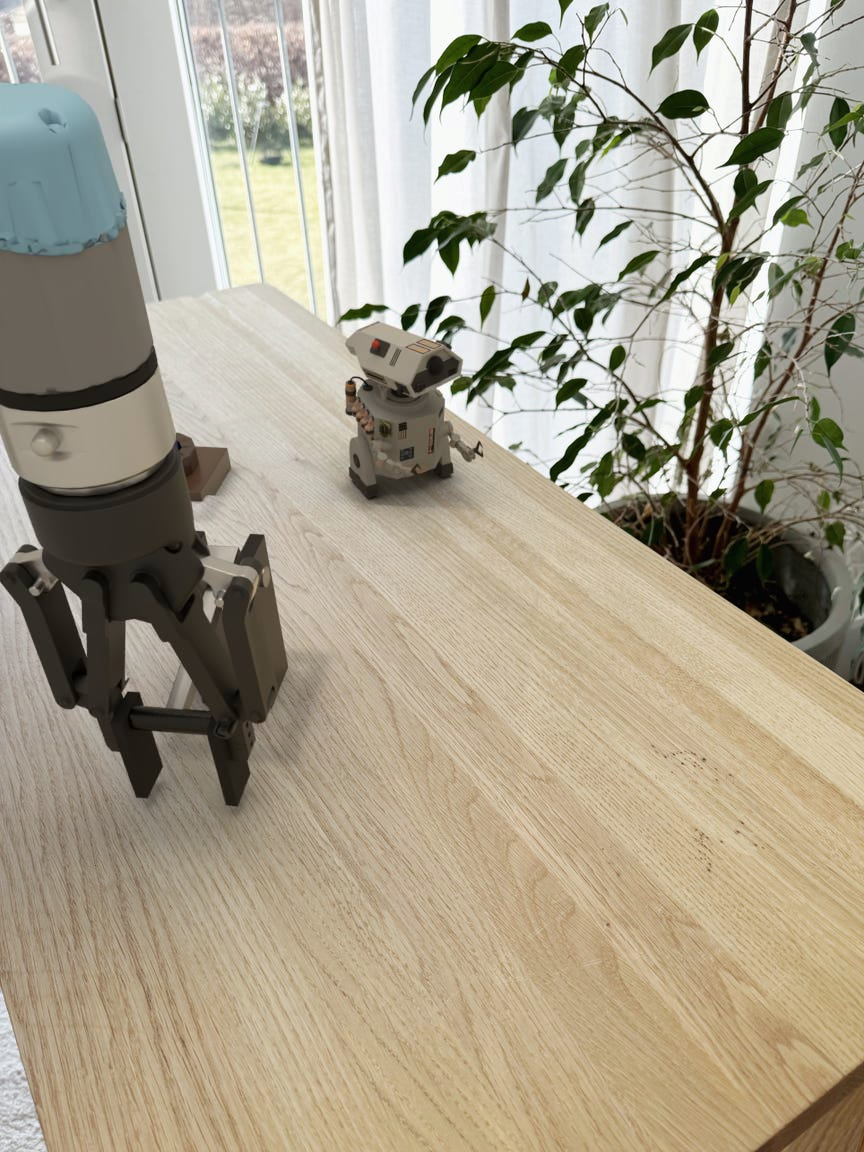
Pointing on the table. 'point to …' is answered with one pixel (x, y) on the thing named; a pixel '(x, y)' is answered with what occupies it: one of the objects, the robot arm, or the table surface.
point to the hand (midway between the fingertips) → (193, 784)
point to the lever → (184, 678)
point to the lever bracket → (261, 605)
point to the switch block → (202, 467)
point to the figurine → (400, 406)
